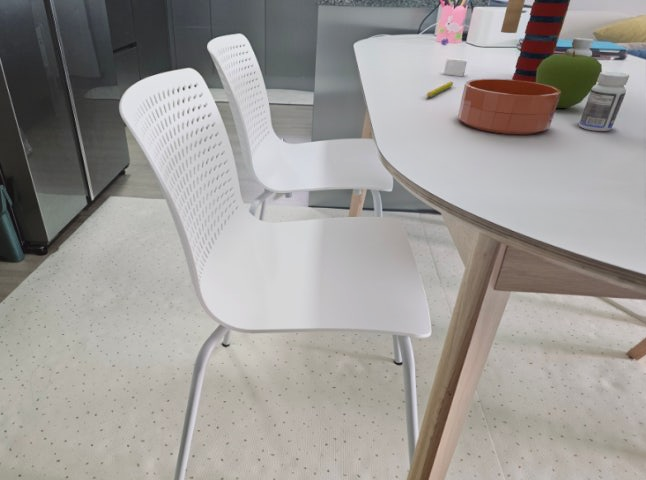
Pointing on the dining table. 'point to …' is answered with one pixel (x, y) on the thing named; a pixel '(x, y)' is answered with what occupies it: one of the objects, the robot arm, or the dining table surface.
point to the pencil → (439, 89)
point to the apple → (569, 76)
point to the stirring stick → (512, 16)
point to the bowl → (508, 105)
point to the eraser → (455, 67)
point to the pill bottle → (604, 101)
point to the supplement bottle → (581, 47)
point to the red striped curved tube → (540, 37)
